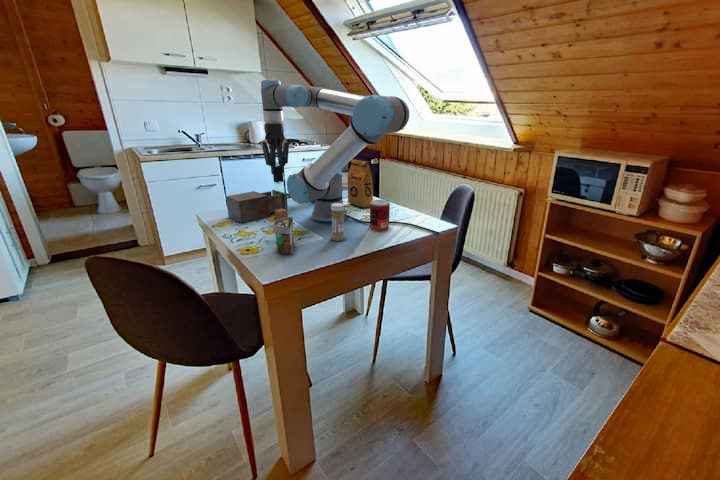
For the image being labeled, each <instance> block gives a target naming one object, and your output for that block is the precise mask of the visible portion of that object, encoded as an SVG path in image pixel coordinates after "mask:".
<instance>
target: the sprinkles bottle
mask: <svg viewBox="0 0 720 480" xmlns="http://www.w3.org/2000/svg"><path fill="white" fill-rule="evenodd" d="M343 204H344V203H343ZM343 204H342V203H334V204H332V205H331V210H332V223H331V231H332V235H331V239H332V240H333V241H336V242H341V241H343V240H345V234H344V233H345V223H344V222H345V220H344V219H343V210H344V207H345V204H344V205H343Z"/></svg>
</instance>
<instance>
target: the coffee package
mask: <svg viewBox="0 0 720 480" xmlns="http://www.w3.org/2000/svg"><path fill="white" fill-rule="evenodd" d="M350 163H351V164H350V167H349V170H348V173H347V174H346V175H347V203H348V204H351V205H355V206H357V207H360V208H363V209H365V208H368V207H370V202H371V201H373V200H374V185H373V176H372V172H371V168H370V165H369V162H368V161H366V160H365V161H364V160H360V159H354V158H353V159H352V160H351V161H350Z"/></svg>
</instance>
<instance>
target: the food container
mask: <svg viewBox="0 0 720 480" xmlns="http://www.w3.org/2000/svg"><path fill="white" fill-rule="evenodd" d="M293 219H294V218H293V216H288V217H285V218H280V219H278V220H277V219H275V220H274V221H273V224H272V231H273V232H274V235H275V241H276V247H277V251H278V253H279V254H282V255H287V256H291V255H292V254H293V250H294V246H295V240H294V237H295V236H294V220H293Z"/></svg>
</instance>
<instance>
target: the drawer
mask: <svg viewBox="0 0 720 480" xmlns="http://www.w3.org/2000/svg"><path fill="white" fill-rule="evenodd" d="M260 193H261V194H264V195H268V203H269V214H271V213H275V211H274V210H277V209H282V208H283V209H285V210H287V211H288V209H289V208H288V200H289V199H292V198H291V197H290V195H289V193H288V192H283V191H280V190H276V189H272V190H270V191H264V192H260Z"/></svg>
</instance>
